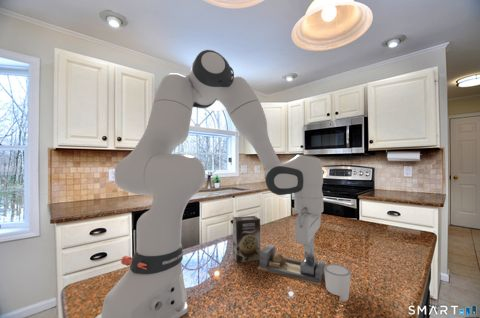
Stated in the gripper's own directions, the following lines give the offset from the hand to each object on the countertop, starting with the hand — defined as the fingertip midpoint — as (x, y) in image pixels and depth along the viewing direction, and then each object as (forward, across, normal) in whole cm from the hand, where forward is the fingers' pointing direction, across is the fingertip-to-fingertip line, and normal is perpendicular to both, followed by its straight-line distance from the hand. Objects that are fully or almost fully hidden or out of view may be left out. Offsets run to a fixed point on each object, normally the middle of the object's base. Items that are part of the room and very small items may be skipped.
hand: (309, 248), depth 70 cm
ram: (+8, 0, 0) cm, 8 cm away
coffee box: (+9, 0, +23) cm, 25 cm away
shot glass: (+9, -5, -9) cm, 14 cm away
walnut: (+8, 0, +10) cm, 13 cm away
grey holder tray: (+9, 0, +6) cm, 11 cm away
